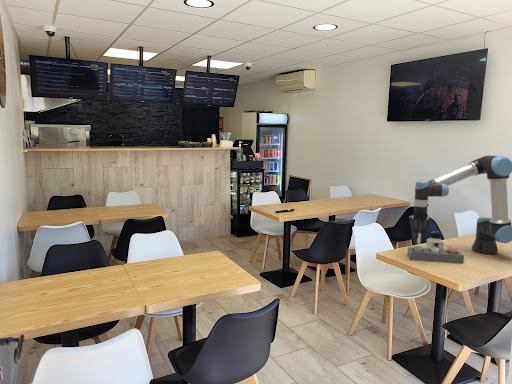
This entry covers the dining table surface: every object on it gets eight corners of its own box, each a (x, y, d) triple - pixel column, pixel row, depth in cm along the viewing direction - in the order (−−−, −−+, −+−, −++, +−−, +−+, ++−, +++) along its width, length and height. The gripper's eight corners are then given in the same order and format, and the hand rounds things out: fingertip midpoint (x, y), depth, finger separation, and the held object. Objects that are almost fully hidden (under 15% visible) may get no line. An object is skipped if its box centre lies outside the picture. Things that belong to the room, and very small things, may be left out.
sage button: (437, 255, 239) (438, 247, 238) (439, 257, 234) (440, 249, 233) (429, 254, 240) (430, 246, 239) (431, 256, 235) (431, 248, 234)
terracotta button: (455, 253, 236) (455, 245, 235) (457, 255, 232) (458, 247, 231) (446, 252, 237) (447, 245, 237) (449, 255, 233) (449, 247, 232)
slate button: (420, 253, 241) (421, 246, 240) (422, 256, 236) (422, 248, 235) (412, 253, 242) (413, 245, 241) (414, 255, 237) (414, 247, 236)
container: (442, 253, 250) (444, 233, 248) (431, 253, 250) (432, 233, 248) (437, 249, 257) (439, 231, 256) (426, 249, 257) (427, 230, 256)
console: (457, 258, 239) (458, 250, 238) (463, 263, 228) (464, 255, 228) (407, 254, 246) (407, 247, 245) (410, 259, 235) (410, 252, 234)
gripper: (430, 205, 237) (428, 242, 240) (408, 204, 240) (406, 241, 243) (433, 207, 230) (431, 245, 233) (410, 206, 232) (408, 244, 236)
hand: (418, 243), depth 238 cm, fingers closed
